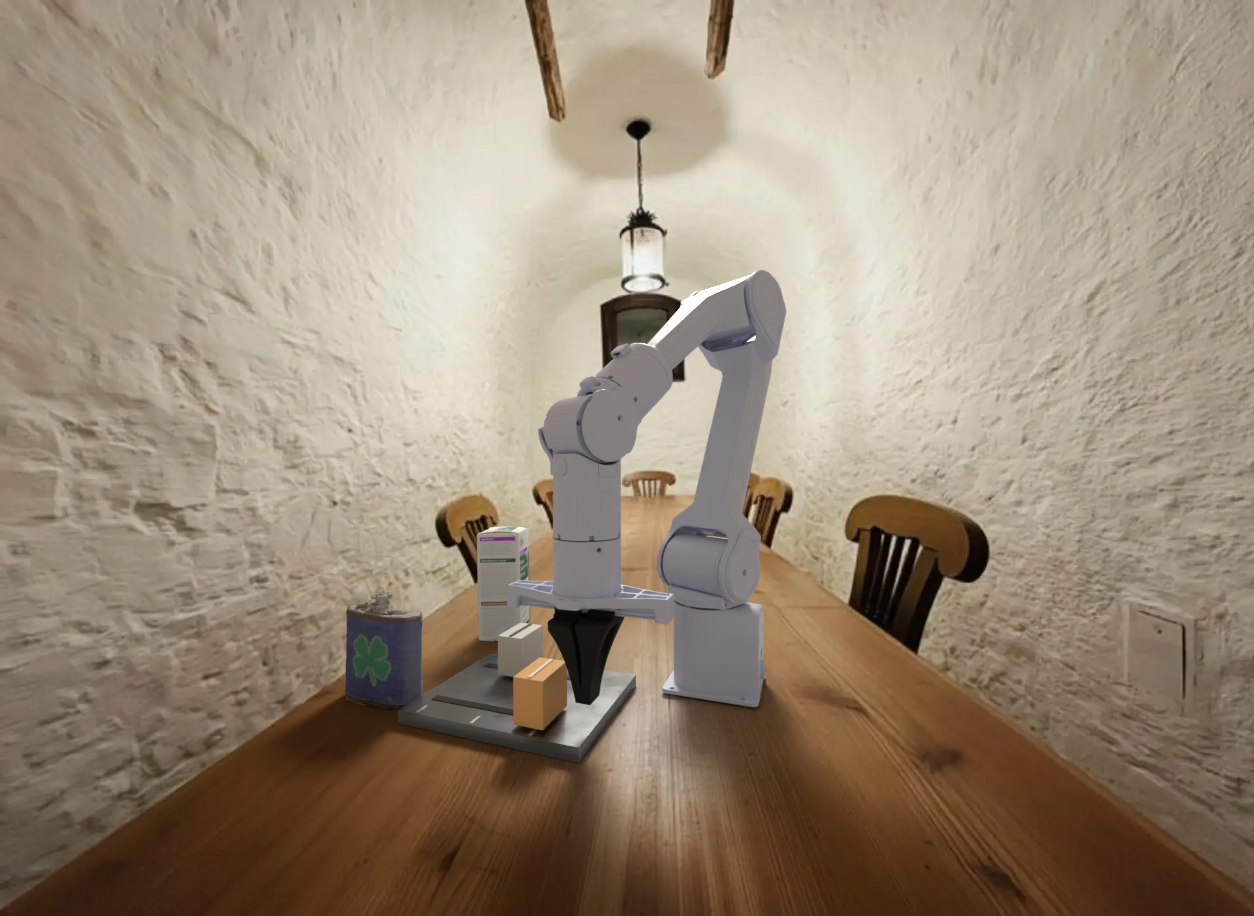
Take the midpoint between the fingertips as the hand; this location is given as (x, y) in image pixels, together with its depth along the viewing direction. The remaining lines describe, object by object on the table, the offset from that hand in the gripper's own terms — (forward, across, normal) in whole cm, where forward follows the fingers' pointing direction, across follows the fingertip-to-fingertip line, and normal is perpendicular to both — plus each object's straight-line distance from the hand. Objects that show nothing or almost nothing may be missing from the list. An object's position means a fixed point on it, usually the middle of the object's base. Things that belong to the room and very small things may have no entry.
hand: (587, 698), depth 42 cm
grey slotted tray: (+4, -8, +4) cm, 10 cm away
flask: (+4, -22, 0) cm, 23 cm away
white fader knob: (+2, -11, +8) cm, 14 cm away
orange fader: (+2, -4, 0) cm, 5 cm away
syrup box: (+4, -21, +20) cm, 30 cm away
